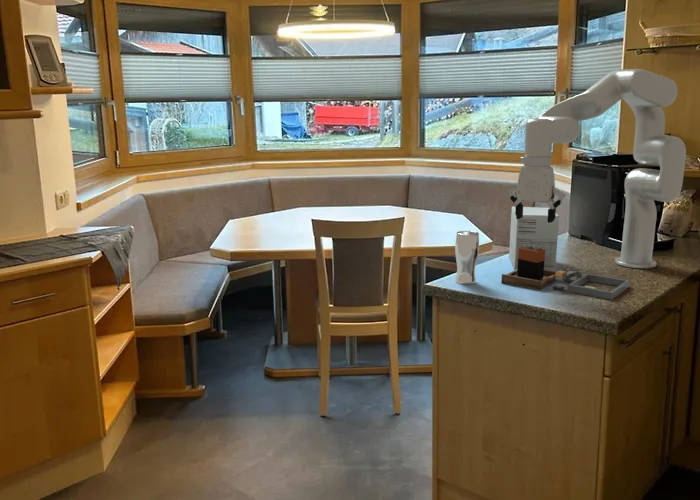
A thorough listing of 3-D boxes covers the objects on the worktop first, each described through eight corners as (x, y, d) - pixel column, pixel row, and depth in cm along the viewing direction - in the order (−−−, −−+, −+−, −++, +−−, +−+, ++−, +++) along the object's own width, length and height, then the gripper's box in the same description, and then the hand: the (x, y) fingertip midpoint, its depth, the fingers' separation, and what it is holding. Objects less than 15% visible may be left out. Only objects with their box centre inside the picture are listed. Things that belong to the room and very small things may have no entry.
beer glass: (472, 286, 197) (474, 236, 194) (450, 282, 201) (452, 233, 197) (480, 280, 203) (483, 232, 200) (459, 277, 207) (461, 229, 203)
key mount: (567, 278, 206) (568, 267, 205) (582, 281, 203) (583, 270, 202) (549, 288, 195) (550, 277, 194) (565, 291, 192) (565, 280, 191)
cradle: (586, 279, 204) (587, 272, 204) (628, 287, 197) (629, 279, 197) (567, 291, 192) (568, 283, 192) (611, 299, 185) (612, 291, 184)
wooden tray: (519, 273, 211) (520, 265, 210) (556, 280, 204) (557, 272, 203) (501, 282, 201) (501, 274, 200) (539, 290, 194) (540, 281, 193)
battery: (535, 281, 198) (538, 248, 196) (516, 276, 203) (518, 244, 201) (543, 278, 201) (546, 246, 199) (524, 274, 206) (526, 242, 204)
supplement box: (556, 272, 213) (560, 216, 209) (513, 270, 215) (516, 215, 211) (547, 259, 230) (551, 206, 226) (507, 257, 232) (511, 205, 227)
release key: (570, 274, 203) (570, 267, 203) (576, 275, 202) (577, 268, 202) (554, 279, 194) (555, 272, 193) (561, 280, 192) (562, 273, 192)
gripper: (504, 161, 196) (502, 219, 200) (562, 165, 186) (558, 225, 190) (515, 159, 202) (512, 215, 206) (571, 162, 192) (568, 221, 196)
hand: (534, 220), depth 198 cm, fingers open, 9 cm apart
